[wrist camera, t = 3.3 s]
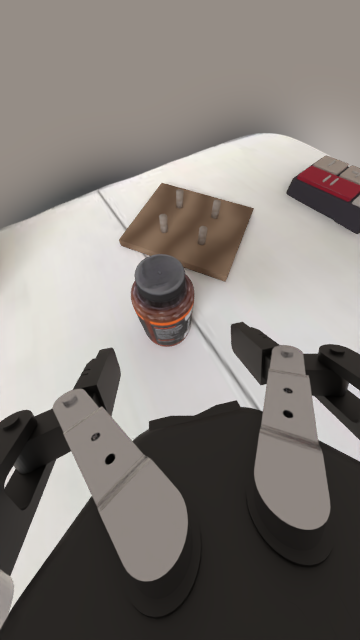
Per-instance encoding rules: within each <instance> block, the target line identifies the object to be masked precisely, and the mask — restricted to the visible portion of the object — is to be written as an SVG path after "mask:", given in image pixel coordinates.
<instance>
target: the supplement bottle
mask: <svg viewBox="0 0 360 640" xmlns="http://www.w3.org/2000/svg"><path fill="white" fill-rule="evenodd" d="M131 300H132V304H133V307H134V309H135V311H136V313H137V315H138V317H139V320H140V322H141V324H142V326H143V328H144V330H145V332H146V334H147V335H148V337H149V338H150V339H151V340H152V341H153V342H154V343H156V344H158V345H160V346H174V345H177V344H178V343H180V342H182V341H183V340H184V339H185V337H186V336H187V334H188V332H189V329H190V323H191V315H192V310H193V303H194V287H193V284H192V282H191V280H190V279H189V277H188V276H187V275H186V274H185V271H184V267H183V265H182V264H181V262H180V261H179V260H177V259H176V258H174V257H172V256H170V255H166V254H156V255H152V256H149V257H147V258H145V259H144V260H142V261H141V262H140V263H139V265H138V266H137V268H136V270H135V282H134V284H133V286H132V289H131Z"/></svg>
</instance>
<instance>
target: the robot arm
mask: <svg viewBox="0 0 360 640" xmlns="http://www.w3.org/2000/svg"><path fill="white" fill-rule="evenodd" d="M231 345H232V349H233V352H234V353H235V354H236V356H237V357H238V358H239V359H240V361H241V362H242V363H243V364H244V365H245V367H246V368H247V369H248V370H249V372H250V373H251V374H252V375H253V376H254V378H255V379H256V380H257V381H258V383H259V384H260V385H264V384H267V386H266V394H265V401H264V408H263V412H262V411H260V410H256V409H252V408H246V407H240V405H239V404H238V402H237V400H236V401H232V402H228V403H223V404H219V405H215V406H213V407H211V408H210V409H208V410H206V411H204V412H202V413H200V414H198V415H195V416H169V417H165V418H160V419H156V420H152V421H149V430H147V431H145V432H143V433H142V434H140V435H139V436H138V437H136V438H135V439H134V440H133V441H132V440H131V439H130V438H129V437H128V436H127V435H126V433H125V432H124V431H123V430H122V429H121V428H120V426H119V425H118V424H117V423H116V422H115V421H114V419H113V418H112V417H111V416H112V411H113V407H114V403H115V398H116V394H117V390H118V385H119V381H120V376H121V372H120V367H119V364H118V361H117V358H116V354H115V351H114V349H113V348H107V349H102V350H100V351H99V353H98V355H97V357H96V359H92V360H91V361H90V362H89V363H88V364H87V365H86V367H85V368H84V371H83V372H82V374H81V376H80V377H79V379H78V381H77V383H76V385H75V386H74V388H73V390H71V391H69V392H67V393H65V394H63V395H62V396H61V397H59V398H58V399H57V400H56V402H55V403H54V405H53V409H51V410H48V411H46V412H44V413H41V414H39V415H37V416H35V417H34V415H33V414H32V412H31V411H29V410H23V411H19V412H16V413H14V414H12V415H10V416H8V417H7V418H5V419H4V420H2V421H1V422H0V640H360V462H359V461H358V460H356V459H354V458H352V457H350V456H348V455H346V454H344V453H342V452H340V451H338V450H336V449H334V448H333V447H331V446H329V445H327V444H325V443H323V442H321V441H319V440H318V437H317V430H316V422H315V415H314V408H313V401H312V396H315V397H316V398H317V399H318V400H319V401H320V402H321V403H322V404H323V405H324V406H325V407H326V408H327V409H328V410H329V411H330V412H331V413H332V414H333V415H334V416H336V417H337V418H338V419H339V420H340V421H341V422H342V423H343V424H344V425H345V426H346V427H347V428H348V429H349V430H350V431H351V432H352V433H353V434H354V435H355V436H356V437H357V438H358V439H359V440H360V399H359V398H358V397H356V396H355V395H354V394H352V393H351V392H350V391H349V390H347V388H348V384H349V383H350V384H352V385H353V386H354V387H356V388H357V389H359V390H360V354H358V353H356V352H354V351H352V350H351V349H349V348H346V347H343V346H340V345H333V344H327V345H322V346H320V348H319V352H318V354H303V353H302V351H301V350H299V349H298V348H295V347H292V346H287V345H279V344H277V343H276V342H275V341H273V340H272V339H271V338H269V337H268V336H267V335H265V334H264V333H262V332H261V331H260V330H258V329H255V328H252V327H251V328H250V327H249V326H247V325H246V324H245V323H244V322H240V323H235V324H232V325H231ZM70 451H72V454H73V456H74V458H75V460H76V462H77V464H78V466H79V469H80V471H81V473H82V475H83V477H84V479H85V482H86V484H87V486H88V488H89V490H90V492H91V494H92V496H91V498H90V499H89V501H88V502H87V503H86V505H85V506H84V508H83V509H82V510H81V512H80V513H79V515H78V516H77V517H76V519H75V520H74V522H73V523H72V524H71V526H70V527H69V529H68V530H67V531H66V533H65V534H64V536H63V537H62V538H61V540H60V541H59V543H58V544H57V545H56V547H55V548H54V550H53V551H52V552H51V554H50V555H49V557H48V558H47V559H46V561H45V562H44V564H43V565H42V566H41V568H40V569H39V571H38V572H37V573H36V575H35V576H34V578H33V579H32V580H31V582H30V583H29V585H28V586H27V587H26V589H25V590H24V592H23V593H22V595H21V596H20V597H19V599H18V600H17V602H16V603H15V605H14V606H13V608H12V609H11V611H10V613H9V610H10V607H11V603H12V599H13V594H14V584H13V580H12V578H11V577H10V575H11V573H12V570H13V568H14V565H15V563H16V560H17V558H18V555H19V552H20V550H21V547H22V545H23V542H24V540H25V537H26V535H27V532H28V530H29V527H30V524H31V522H32V519H33V517H34V514H35V512H36V509H37V507H38V504H39V502H40V499H41V497H42V494H43V491H44V489H45V486H46V484H47V481H48V479H49V476H50V474H51V471H52V469H53V466H54V463H55V461H56V459H57V458H59V457H61V456H63V455H65V454H67V453H68V452H70ZM13 466H14V467H15V468H16V469H15V471H14V473H13V475H12V476H11V478H10V480H9V482H8V483H7V485H6V487H5V489H4V484H5V480H6V477H7V475H8V474H9V472H10V470H11V468H12V467H13Z"/></svg>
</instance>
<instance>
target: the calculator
mask: <svg viewBox="0 0 360 640" xmlns="http://www.w3.org/2000/svg"><path fill="white" fill-rule="evenodd" d="M348 165H349V164H348V163H345V162H342V161H340V160H337V159H335V158H332V157H329V156H324V157H323V158H321V159H320V160H318V161H317V162H316V163H314V164H313V165H311V166H310V167H308V168H307V169H306V170H304V171H303V172H301V173H300V174H299V175H297V176H296V177H294V178H293V180H292V182H291V184H290V186H289V188H288V190H287V192H286V193H287V194H288V195H289V196H291V197H293V198H295V199H296V200H298V201H300V202H302V203H303V204H305V205H307V206H309V207H310V208H312V209H314V210H316V211H318V212H320V213H322V214H324V215H326V216H328V217H330V218H332V219H334V220H335V222H336V223H338V224H340V225H342V226H343V227H345V228H347V229H349V230H350V231H352V232H354V233H356V234H359V233H360V168H358V167H356V166H350V167H348Z"/></svg>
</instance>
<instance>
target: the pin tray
mask: <svg viewBox="0 0 360 640" xmlns="http://www.w3.org/2000/svg"><path fill="white" fill-rule="evenodd" d="M253 209H254V208H251V207H247V206H243V205H240V204H236V203H232V202H229V201H225V200H222V199H218V198H214V197H211V196H207V195H204V194H200V193H196V192H193V191H189V190H186V189H182V188H178V187H175V186H171V185H168V184H164V183H161V185H160V186H159V187H158V189H157V190H156V191H155V193H154V194H153V195H152V197H151V198H150V199H149V201H148V202H147V203H146V205H145V206H144V207H143V209H142V210H141V211H140V213H139V214H138V215H137V217H136V218H135V219H134V221H133V222H132V223H131V224H130V226H129V227H128V228H127V230H126V231H125V232H124V234H123V235H122V236H121V238H120V239H119V241H120V244H121V246H124V247H127V248H129V249H132V250H135V251H138V252H141V253H144V254H147V255H150V256H152V255H156V254H166V255H170V256H172V257H174V258H176V259H177V260H179V261H180V262H181V264H182V265H183V267H185V268H188V269H190V270H193V271H196V272H199V273H202V274H205V275H208V276H211V277H214V278H217V279H219V280H222V281H226V279H227V276H228V274H229V271H230V268H231V266H232V263H233V261H234V258H235V255H236V253H237V250H238V248H239V245H240V243H241V240H242V237H243V235H244V232H245V230H246V227H247V225H248V222H249V219H250V217H251V214H252V212H253Z"/></svg>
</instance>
